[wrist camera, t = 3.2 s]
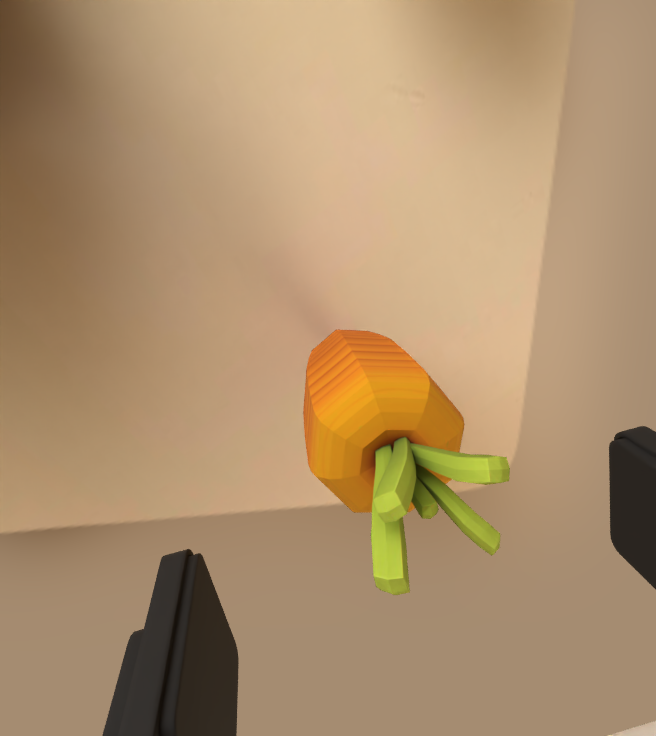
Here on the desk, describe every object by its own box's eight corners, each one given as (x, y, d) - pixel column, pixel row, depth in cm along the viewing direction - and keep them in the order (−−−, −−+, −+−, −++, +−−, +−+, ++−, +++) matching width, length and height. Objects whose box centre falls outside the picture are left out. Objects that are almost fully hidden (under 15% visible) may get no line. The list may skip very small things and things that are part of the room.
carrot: (371, 281, 24) (528, 411, 10) (397, 373, 26) (562, 592, 12) (273, 315, 24) (292, 494, 10) (306, 405, 26) (362, 663, 12)
